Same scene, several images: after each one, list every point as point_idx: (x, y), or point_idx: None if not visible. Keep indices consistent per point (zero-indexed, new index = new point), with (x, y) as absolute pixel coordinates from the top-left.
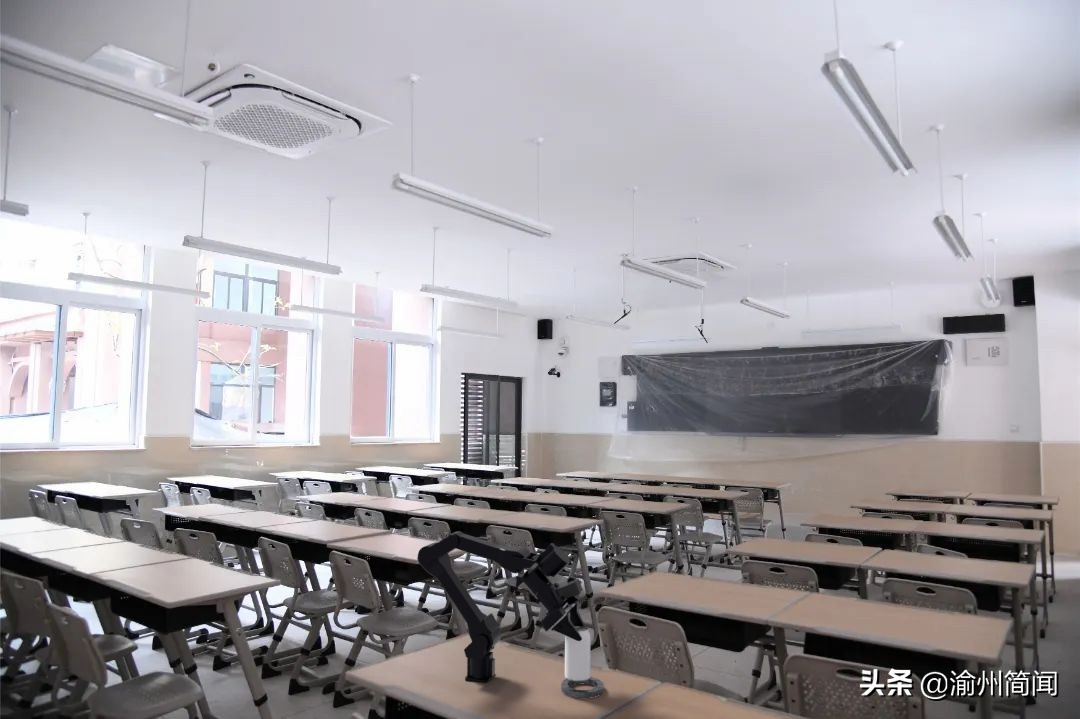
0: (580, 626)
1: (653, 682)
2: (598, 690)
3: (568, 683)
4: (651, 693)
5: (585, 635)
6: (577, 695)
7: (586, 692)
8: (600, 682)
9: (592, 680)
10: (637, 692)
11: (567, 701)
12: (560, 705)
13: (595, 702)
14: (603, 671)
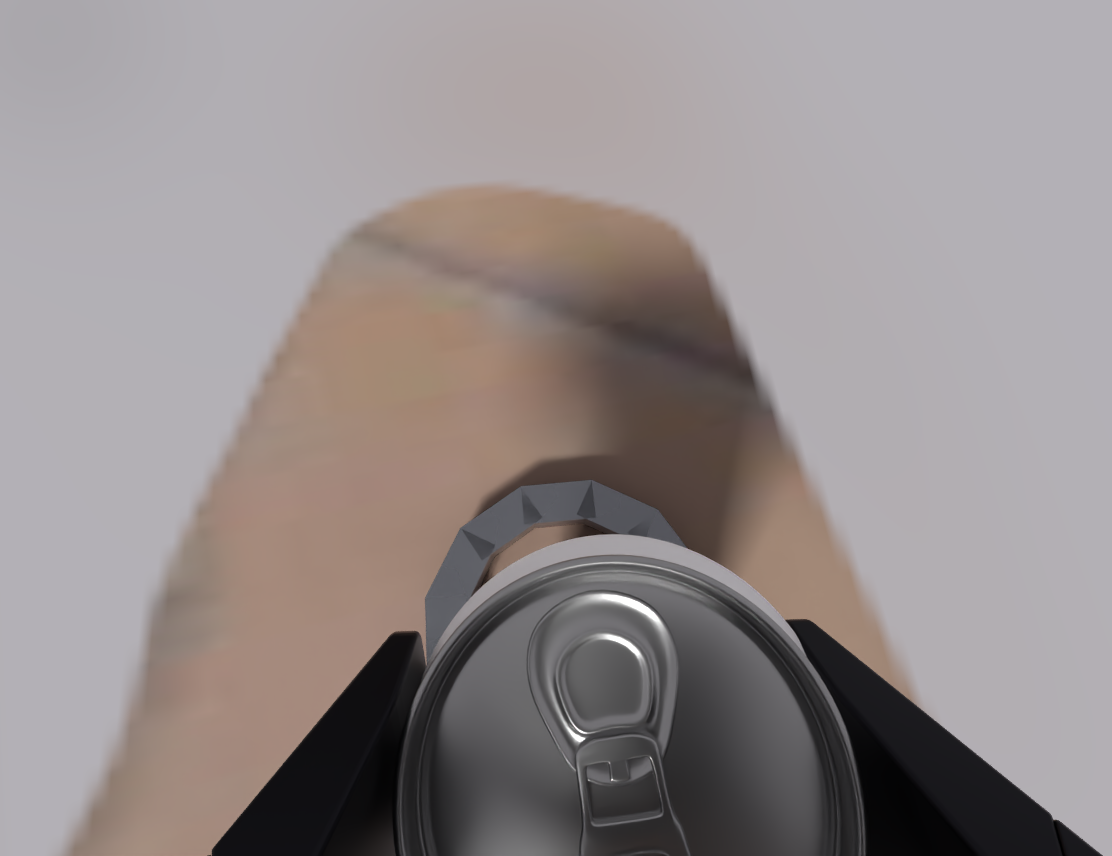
0: (402, 790)
1: (337, 261)
2: (627, 496)
3: None
4: (487, 251)
5: (727, 577)
6: None
7: None
8: (506, 512)
9: (480, 574)
10: (496, 315)
11: None
12: None
13: (709, 498)
14: (217, 567)
